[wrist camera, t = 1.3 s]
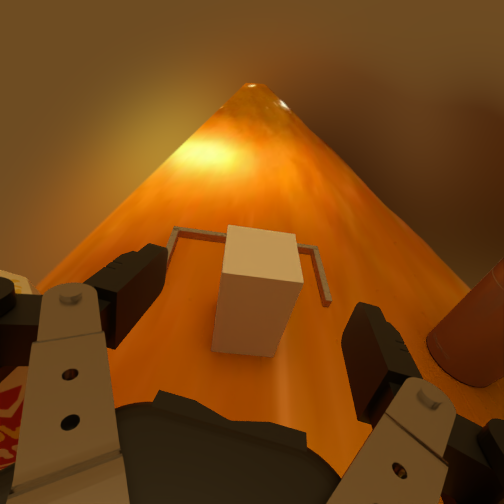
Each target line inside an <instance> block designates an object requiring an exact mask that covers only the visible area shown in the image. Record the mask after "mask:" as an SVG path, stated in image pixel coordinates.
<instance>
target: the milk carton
mask: <svg viewBox="0 0 504 504" xmlns="http://www.w3.org/2000/svg"><path fill="white" fill-rule="evenodd" d="M0 277H4V278H8V279H10V280H11V281H12V282H13V283H14V287H15V293H18V294H35V295H41V294H40V292H39V291H38V290H37V289H36V288H35V287H34V286H33V285H32V283H31V282H30V281H29V280H28V279H27V278H26V277H23V276H19V275H16V274H13V273H9V272H6V271H3V270H0ZM28 368H29V366H18V367H17V368H16V369H15V370H14V371H12V372H11V373H10V374H9V375H8V376H7V377H6V378H5V379H4V380H3V381H2V382H1V383H0V470H2V469H4V468H5V467H7V466H9V465H11V464H13V463H14V462H16V455H17V448H18V440H19V433H20V426H21V419H22V411H23V404H24V397H25V389H26V382H27V375H28Z"/></svg>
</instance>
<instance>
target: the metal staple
mask: <svg viewBox="0 0 504 504" xmlns="http://www.w3.org/2000/svg"><path fill="white" fill-rule="evenodd" d="M178 237H184V238H191V239H198V240H206V241H213V242H220V243H226V237H227V234H226V233H219V232H212V231H205V230H198V229H190V228H183V227H176V226H174V228H173V231H172V233H171V236H170V238H169V241H168V244H167V246H166V248H167V249H168V260H167V268H166V272H167V269H168V266H169V263H170V260H171V257H172V255H173V252H174V249H175V246H176V243H177V240H178ZM297 248H298V253H301V254H308V255H311V258H312V262H313V266H314V271H315V275H316V279H317V283H318V288H319V292H320V296H321V301H322V305H323V306H324V307H329V306H330V304H331V302H332V298H331V295H330V291H329V287H328V283H327V280H326V276H325V272H324V269H323V265H322V261H321V258H320V254H319V250H318V247H317V246H312V245H305V244H298V243H297Z"/></svg>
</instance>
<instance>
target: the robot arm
mask: <svg viewBox="0 0 504 504" xmlns="http://www.w3.org/2000/svg"><path fill="white" fill-rule="evenodd" d="M167 260H168V249H167V248H165V247H161V246H158V245H154V244H151V243H149V244H147V245H146V246H145V247H143V248H142V249H141V250H139V251H138V252H135V251H131V252H128V253H125V254H122V255H120V256H119V257H117V258H116V259H115V260H113V262H111V263H109V264H108V265H107V266H106V267H104V268H102V269H101V270H100V271H98V272H97V273H96V274H94V275H93V276H91V277H90V278H89V279H87V280H86V281H85V282H83V283H66V284H61V285H57V286H55V287H53V288H51V289H49V290H48V291H46V292H45V293H44V295H35V294H18V293H15V287H14V283H13V282H12V281H11V280H10V279H8V278H4V277H0V383H1V382H2V381H3V380H4V379H5V378H6V377H7V376H8V375H9V374H10V373H11V372H12V371H14V370H15V369H16V368H17V367H18V366H29V368H28V375H27V382H26V389H25V397H24V404H23V411H22V419H21V426H20V433H19V440H18V448H17V455H16V462H14V463H13V464H11V465H9V466H7V467H5V468H4V469H2V470H0V504H438V502H439V499H440V495H441V497H442V500H443V503H444V504H504V420H501V419H491V420H490V421H489V422H488V423H487V424H486V425H485V426H484V427H481V426H479V425H477V424H475V423H473V422H471V421H470V420H468V419H466V418H464V417H462V416H460V415H458V414H456V410H455V407H454V405H453V403H452V402H451V401H450V399H449V398H448V397H447V396H446V395H445V394H444V393H443V392H442V391H441V390H440V389H439V388H437V387H436V386H435V385H433V384H431V383H430V382H428V381H426V380H423V378H422V376H421V374H420V372H419V370H418V368H417V366H416V364H415V362H414V360H413V358H412V356H411V355H410V353H408V352H409V351H408V349H407V347H406V345H404V341H403V339H402V337H401V335H400V333H399V332H398V331H397V330H396V329H395V328H394V327H393V326H392V325H391V324H390V323H389V322H386V320H385V318H384V316H383V313H382V311H381V309H380V308H379V307H377V306H373V305H370V304H366V303H362V302H359V303H358V304H357V305H356V307H355V309H354V311H353V313H352V315H351V317H350V319H349V321H348V323H347V325H346V327H345V330H344V332H343V335H342V340H341V346H342V351H343V356H344V360H345V365H346V369H347V374H348V379H349V383H350V388H351V392H352V397H353V401H354V406H355V411H356V415H357V420H358V421H361V422H364V423H368V424H371V425H372V429H373V430H372V432H371V433H370V435H369V436H368V438H367V440H366V441H365V443H364V444H363V446H362V447H361V449H360V450H359V452H358V453H357V455H356V456H355V458H354V460H353V461H352V463H351V464H350V466H349V467H348V469H347V470H346V472H345V473H344V475H343V476H342V478H340V476H339V475H338V474H337V473H336V471H335V470H334V469H333V468H332V467H331V466H330V465H329V464H328V463H327V462H326V461H325V460H324V459H323V458H321V457H320V456H319V455H318V454H316V453H315V452H314V451H312V450H311V449H309V448H307V441H306V432H302V431H299V430H295V429H292V428H288V427H285V426H282V425H278V424H275V423H271V422H251V421H231V420H228V419H226V418H224V417H222V416H221V415H219V414H217V413H216V412H214V411H212V410H211V409H209V408H207V407H205V406H204V405H202V404H200V403H199V402H197V401H195V400H192V399H189V398H185V397H182V396H178V395H175V394H171V393H168V392H165V391H161V390H159V391H158V393H157V395H156V397H155V399H154V401H153V402H139V403H133V404H128V405H124V406H121V407H118V408H114V400H113V393H112V385H111V378H110V370H109V363H108V355H107V348H111V349H114V350H115V349H116V348H117V347H118V345H119V344H120V343H121V342H122V340H123V339H124V338H125V337H126V336H127V334H128V333H129V332H130V331H131V329H132V328H133V327H134V326H135V324H136V323H137V322H138V321H139V319H140V318H141V317H142V316H143V314H144V313H145V312H146V311H147V310H148V308H149V307H150V306H151V305H152V303H153V302H154V301H155V300H156V298H157V297H158V296H159V295H160V293H161V291H162V289H163V286H164V283H165V276H166V268H167ZM427 345H428V348H429V350H430V353H431V354H432V356H433V358H434V359H435V360H436V362H437V363H438V364H439V365H440V366H441V367H442V368H443V369H444V370H445V371H446V372H447V373H449V374H450V375H451V376H453V377H454V378H456V379H457V380H459V381H461V382H463V383H465V384H467V385H471V386H474V387H486V386H488V385H490V384H492V383H493V382H495V381H496V380H498V379H501V378H502V377H504V257H503V258H502V259H501V260H500V261H499V262H498V263H497V264H496V265H495V267H494V268H493V269H492V270H491V271H490V272H489V273H488V274H487V275H486V276H485V277H484V278H483V279H482V280H481V281H480V282H479V283H478V284H477V285H476V286H475V287H474V288H473V289H472V290H471V291H470V292H469V293H468V294H467V295H466V296H465V297H464V298H463V299H462V300H461V301H460V302H459V303H458V304H457V305H456V306H455V307H454V308H453V309H452V310H451V311H450V312H449V313H448V314H447V315H446V316H445V317H444V318H443V319H442V320H441V322H440V323H439V324H438V325H437V326H436V327H435V328H434V329H433V330H432V331H431V332H430V333H429V334H428V336H427ZM106 347H107V348H106Z"/></svg>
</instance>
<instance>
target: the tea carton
mask: <svg viewBox="0 0 504 504" xmlns="http://www.w3.org/2000/svg"><path fill="white" fill-rule="evenodd" d="M303 284H304V281H303V276H302V270H301V265H300V259H299V254H298V248H297V243H296V237H295V234H290V233H283V232H276V231H269V230H262V229H255V228H248V227H241V226H234V225H228V230H227V237H226V244H225V251H224V258H223V265H222V272H221V279H220V287H219V294H218V301H217V308H216V316H215V324H214V332H213V339H212V347H211V351H212V352H223V353H233V354H243V355H254V356H264V357H273V356H274V354H275V351H276V349H277V347H278V344H279V342H280V339H281V337H282V335H283V332H284V330H285V327H286V325H287V322H288V320H289V318H290V315H291V313H292V310H293V308H294V306H295V303H296V301H297V298H298V296H299V293H300V291H301V289H302V286H303Z"/></svg>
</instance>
